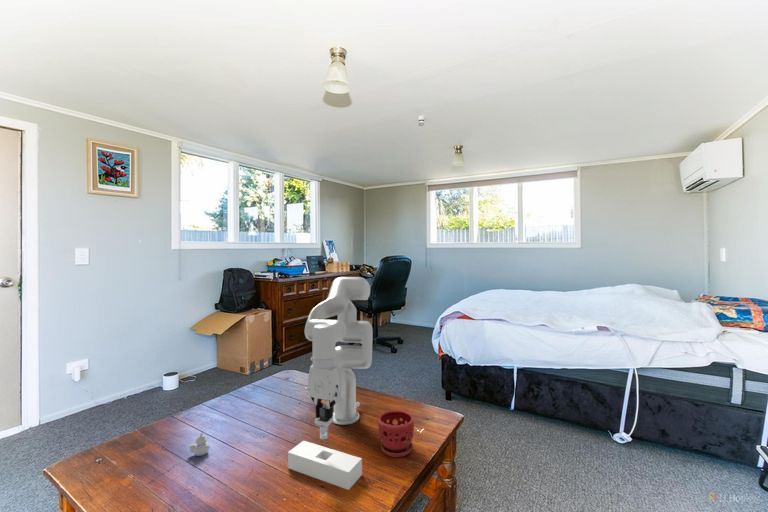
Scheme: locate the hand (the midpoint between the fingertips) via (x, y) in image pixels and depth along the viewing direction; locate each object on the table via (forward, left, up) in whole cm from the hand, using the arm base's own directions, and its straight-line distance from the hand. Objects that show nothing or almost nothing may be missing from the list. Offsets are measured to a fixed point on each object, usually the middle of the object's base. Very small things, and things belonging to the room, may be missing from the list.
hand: (324, 417), depth 114 cm
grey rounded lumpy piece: (+12, -46, -18) cm, 51 cm away
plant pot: (-22, +16, -18) cm, 33 cm away
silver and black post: (0, 0, -7) cm, 7 cm away
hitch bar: (0, 0, -18) cm, 18 cm away
